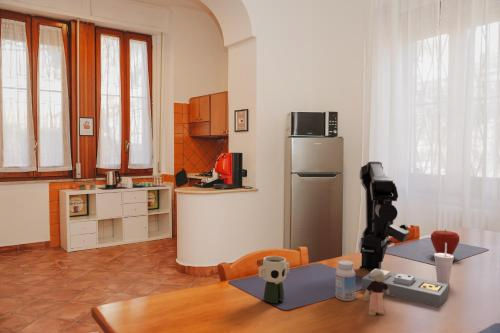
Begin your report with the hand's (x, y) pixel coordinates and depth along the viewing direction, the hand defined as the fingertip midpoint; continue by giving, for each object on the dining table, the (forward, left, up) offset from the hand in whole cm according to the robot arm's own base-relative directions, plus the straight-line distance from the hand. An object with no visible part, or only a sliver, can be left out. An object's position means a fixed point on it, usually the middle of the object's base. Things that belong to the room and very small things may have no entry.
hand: (380, 262), depth 134 cm
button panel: (+8, 0, -8) cm, 12 cm away
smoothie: (+16, +18, -9) cm, 26 cm away
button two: (+8, 0, -6) cm, 10 cm away
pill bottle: (-5, -17, -9) cm, 20 cm away
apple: (+9, +55, -9) cm, 56 cm away
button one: (0, 0, -6) cm, 6 cm away
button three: (+16, 0, -7) cm, 18 cm away
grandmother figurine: (+7, -22, -9) cm, 25 cm away
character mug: (-21, -33, -9) cm, 40 cm away
